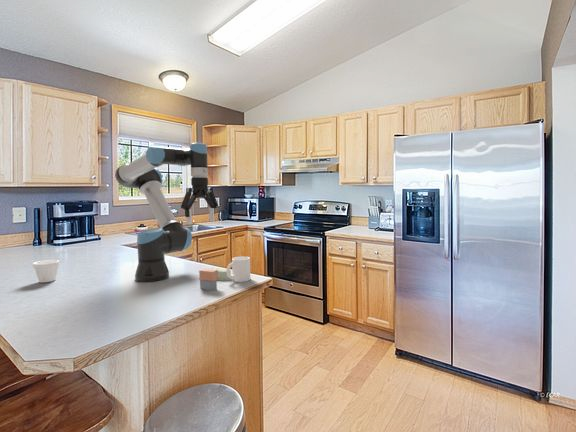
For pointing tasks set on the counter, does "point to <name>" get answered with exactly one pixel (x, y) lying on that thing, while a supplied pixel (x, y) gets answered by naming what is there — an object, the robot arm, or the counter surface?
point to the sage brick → (223, 274)
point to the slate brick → (208, 285)
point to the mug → (239, 269)
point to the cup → (46, 270)
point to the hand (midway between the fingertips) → (201, 222)
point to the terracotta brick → (208, 274)
